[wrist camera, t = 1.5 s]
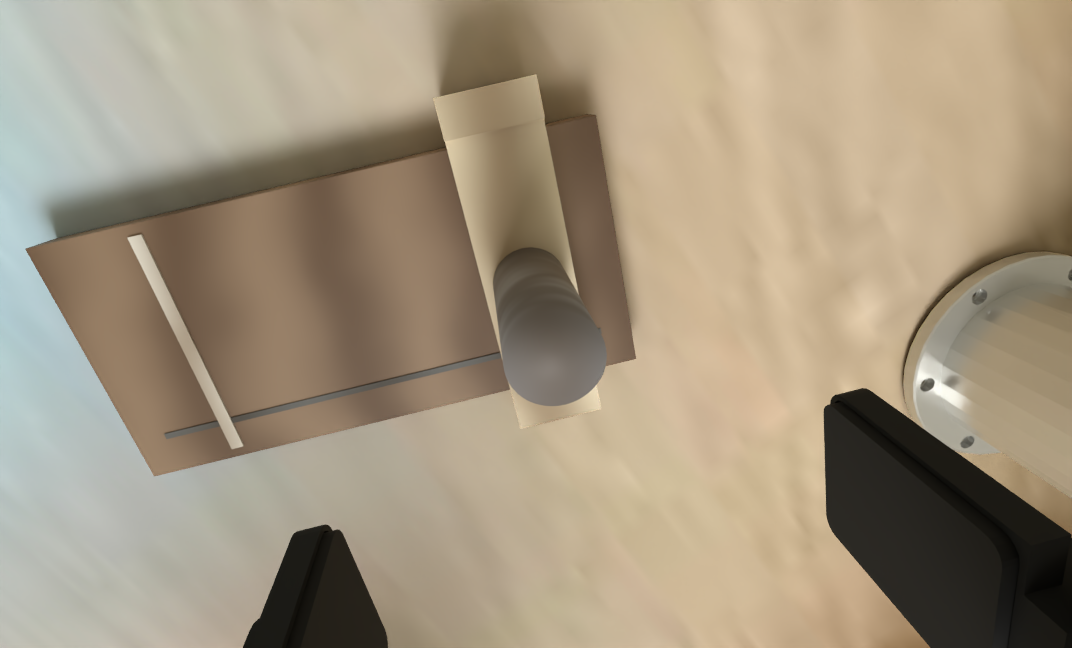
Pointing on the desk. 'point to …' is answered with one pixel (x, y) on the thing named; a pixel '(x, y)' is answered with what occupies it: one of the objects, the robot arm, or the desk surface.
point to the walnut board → (312, 303)
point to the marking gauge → (523, 248)
